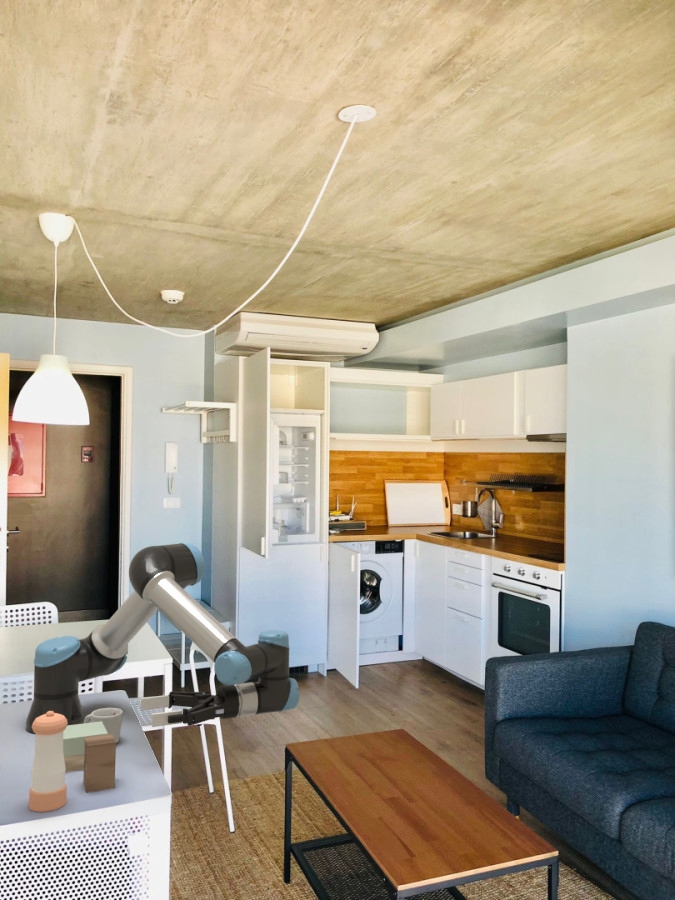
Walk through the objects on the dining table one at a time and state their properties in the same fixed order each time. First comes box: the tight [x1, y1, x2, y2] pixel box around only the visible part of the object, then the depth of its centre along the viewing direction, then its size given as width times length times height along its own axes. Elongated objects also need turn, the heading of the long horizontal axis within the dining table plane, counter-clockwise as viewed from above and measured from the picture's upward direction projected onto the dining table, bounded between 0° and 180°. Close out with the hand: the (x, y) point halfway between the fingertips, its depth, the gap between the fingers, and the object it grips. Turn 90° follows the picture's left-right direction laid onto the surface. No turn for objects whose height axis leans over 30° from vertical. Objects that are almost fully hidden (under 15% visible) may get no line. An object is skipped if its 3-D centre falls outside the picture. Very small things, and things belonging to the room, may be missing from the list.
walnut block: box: [83, 734, 117, 793], centre depth 165 cm, size 6×6×10 cm
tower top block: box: [63, 721, 108, 757], centre depth 178 cm, size 10×10×4 cm
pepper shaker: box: [28, 711, 68, 813], centre depth 155 cm, size 7×7×19 cm
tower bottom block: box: [64, 754, 84, 773], centre depth 178 cm, size 10×10×4 cm
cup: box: [84, 707, 124, 744], centre depth 192 cm, size 11×8×8 cm
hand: (146, 712), depth 169 cm, fingers open, 13 cm apart
